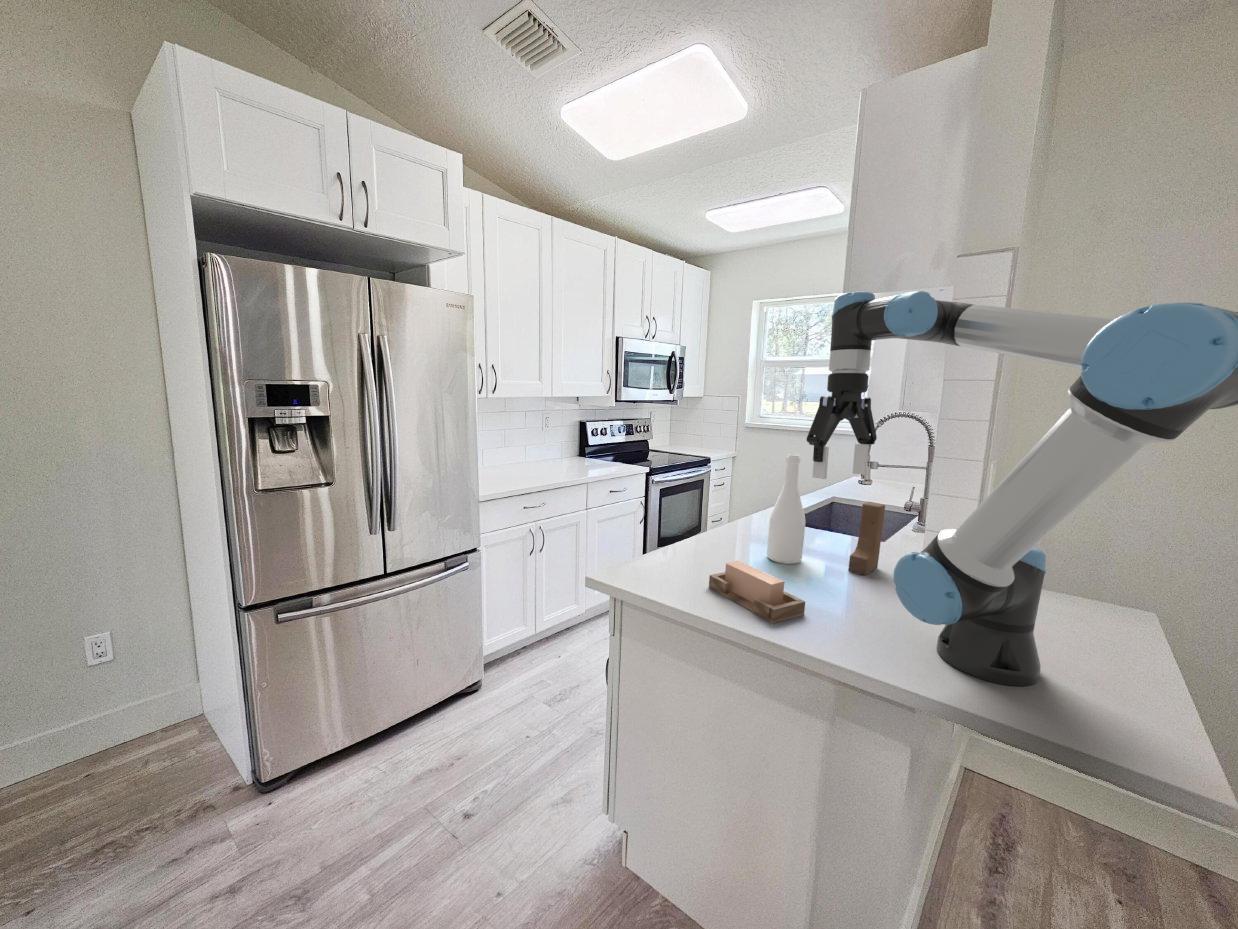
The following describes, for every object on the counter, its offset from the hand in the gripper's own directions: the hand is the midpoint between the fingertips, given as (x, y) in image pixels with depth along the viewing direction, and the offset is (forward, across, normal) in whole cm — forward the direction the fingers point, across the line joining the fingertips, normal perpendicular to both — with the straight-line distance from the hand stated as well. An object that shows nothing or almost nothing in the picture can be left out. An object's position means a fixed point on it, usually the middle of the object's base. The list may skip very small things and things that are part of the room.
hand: (840, 476), depth 105 cm
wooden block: (+30, -33, -13) cm, 46 cm away
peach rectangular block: (+29, +9, -14) cm, 34 cm away
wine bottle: (+29, -20, -28) cm, 45 cm away
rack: (+30, +9, -13) cm, 34 cm away
